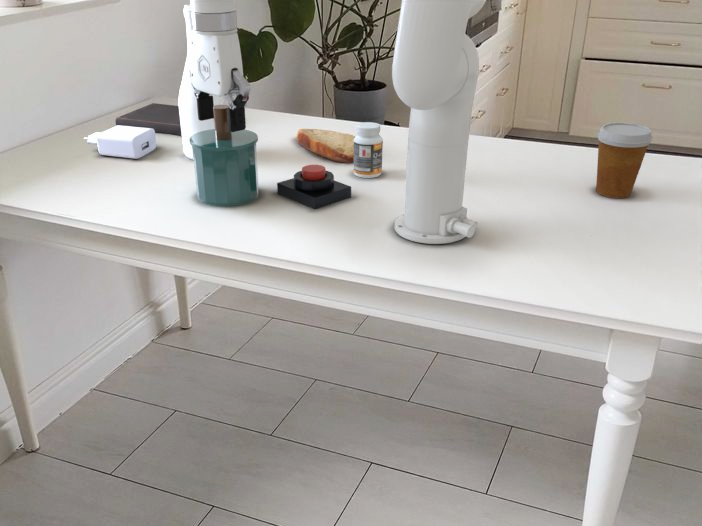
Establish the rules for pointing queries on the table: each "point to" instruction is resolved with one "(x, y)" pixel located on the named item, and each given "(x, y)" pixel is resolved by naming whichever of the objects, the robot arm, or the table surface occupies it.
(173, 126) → the hardcover book
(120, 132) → the charger
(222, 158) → the canister
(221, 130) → the lid
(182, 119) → the wine bottle
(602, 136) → the disposable coffee cup
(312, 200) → the button housing
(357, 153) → the pill bottle
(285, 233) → the table surface
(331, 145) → the bread slice
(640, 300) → the table surface
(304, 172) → the release button
